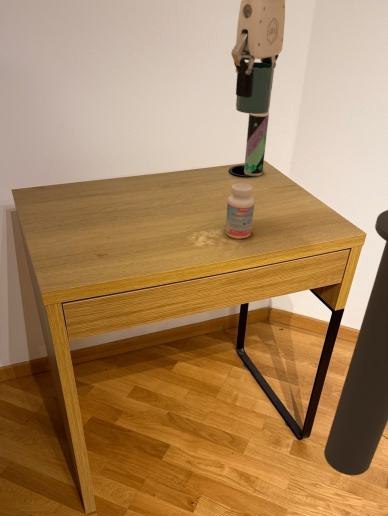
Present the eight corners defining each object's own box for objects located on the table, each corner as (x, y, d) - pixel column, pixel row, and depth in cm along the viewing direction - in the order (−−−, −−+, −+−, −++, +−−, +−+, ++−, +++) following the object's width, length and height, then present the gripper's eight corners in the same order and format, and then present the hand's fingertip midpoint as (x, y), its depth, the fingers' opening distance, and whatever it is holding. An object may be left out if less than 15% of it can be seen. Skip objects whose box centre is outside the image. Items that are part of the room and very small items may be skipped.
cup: (259, 104, 104) (263, 61, 99) (274, 112, 99) (280, 67, 94) (230, 106, 102) (232, 62, 97) (244, 114, 97) (248, 69, 92)
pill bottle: (229, 240, 113) (233, 192, 106) (222, 228, 117) (225, 182, 110) (254, 238, 114) (259, 191, 107) (246, 227, 118) (251, 180, 111)
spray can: (241, 170, 149) (247, 98, 136) (257, 169, 150) (265, 97, 138) (248, 177, 145) (255, 103, 132) (265, 175, 146) (273, 101, 134)
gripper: (255, -15, 81) (245, 104, 92) (306, -17, 91) (291, 89, 102) (218, -17, 84) (213, 97, 95) (271, -19, 95) (261, 83, 106)
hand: (254, 92), depth 99 cm, fingers closed on cup, 7 cm apart
